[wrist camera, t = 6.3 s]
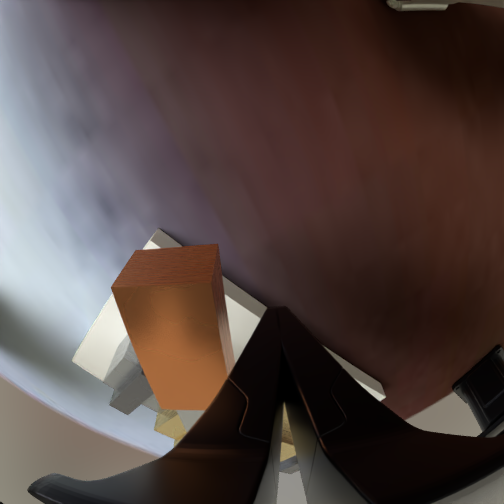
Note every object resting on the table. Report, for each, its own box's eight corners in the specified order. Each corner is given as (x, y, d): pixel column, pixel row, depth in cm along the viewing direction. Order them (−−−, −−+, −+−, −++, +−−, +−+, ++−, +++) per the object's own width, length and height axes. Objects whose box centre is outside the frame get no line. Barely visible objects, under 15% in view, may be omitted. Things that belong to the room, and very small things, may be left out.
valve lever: (254, 459, 15) (255, 499, 12) (217, 460, 15) (215, 499, 12) (220, 228, 8) (210, 282, 6) (146, 235, 8) (110, 287, 6)
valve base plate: (380, 383, 21) (386, 396, 20) (276, 445, 25) (277, 457, 23) (158, 228, 15) (150, 240, 13) (79, 347, 19) (71, 360, 17)
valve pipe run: (335, 414, 20) (346, 460, 16) (290, 439, 22) (295, 482, 18) (147, 309, 15) (123, 368, 11) (112, 353, 17) (90, 405, 13)
